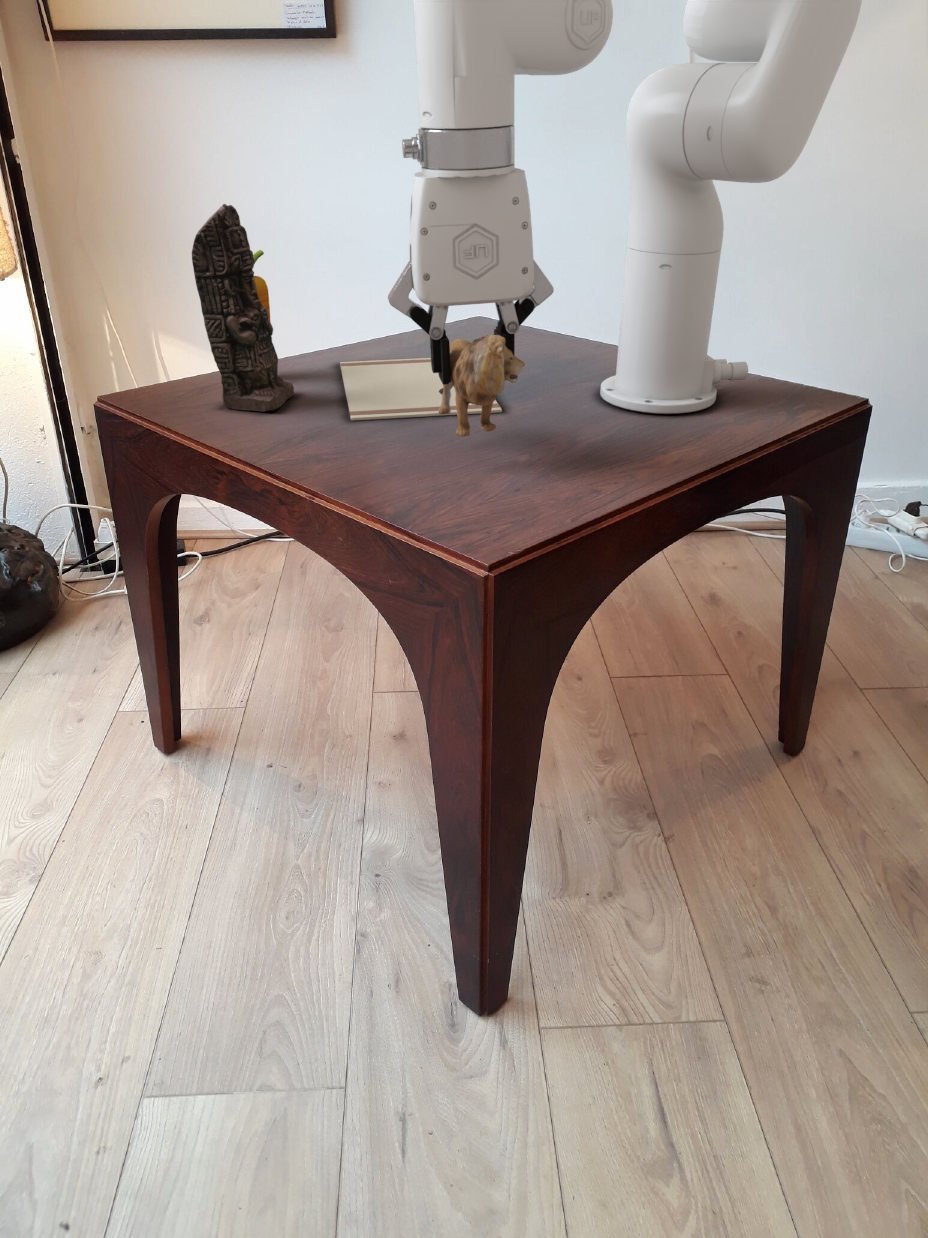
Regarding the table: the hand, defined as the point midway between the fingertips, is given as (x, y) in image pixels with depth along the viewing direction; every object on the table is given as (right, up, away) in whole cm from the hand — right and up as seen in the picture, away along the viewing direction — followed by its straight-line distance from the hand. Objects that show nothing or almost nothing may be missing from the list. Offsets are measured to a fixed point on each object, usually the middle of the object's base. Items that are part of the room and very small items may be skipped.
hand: (473, 375), depth 82 cm
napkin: (-6, +5, +23) cm, 24 cm away
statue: (-24, +2, +17) cm, 29 cm away
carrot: (-25, +7, +26) cm, 37 cm away
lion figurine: (0, -4, +2) cm, 4 cm away
